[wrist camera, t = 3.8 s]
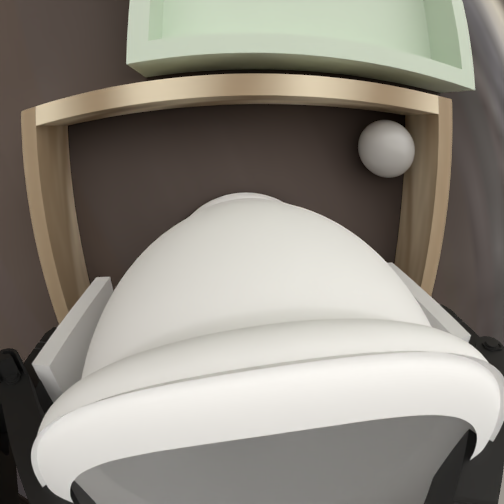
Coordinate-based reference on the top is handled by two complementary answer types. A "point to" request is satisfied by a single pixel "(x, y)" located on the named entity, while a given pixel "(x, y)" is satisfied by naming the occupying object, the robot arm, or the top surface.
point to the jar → (264, 373)
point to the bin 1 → (306, 39)
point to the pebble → (386, 148)
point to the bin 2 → (227, 93)
